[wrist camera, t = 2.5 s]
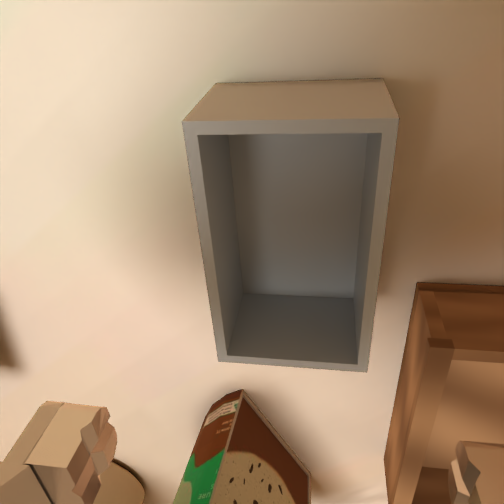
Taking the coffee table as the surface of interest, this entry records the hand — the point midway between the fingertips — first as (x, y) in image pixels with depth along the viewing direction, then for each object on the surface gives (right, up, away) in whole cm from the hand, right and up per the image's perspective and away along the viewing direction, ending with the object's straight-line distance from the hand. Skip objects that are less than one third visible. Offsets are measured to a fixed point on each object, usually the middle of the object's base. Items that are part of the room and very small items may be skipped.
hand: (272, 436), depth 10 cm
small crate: (+1, +6, +8) cm, 11 cm away
